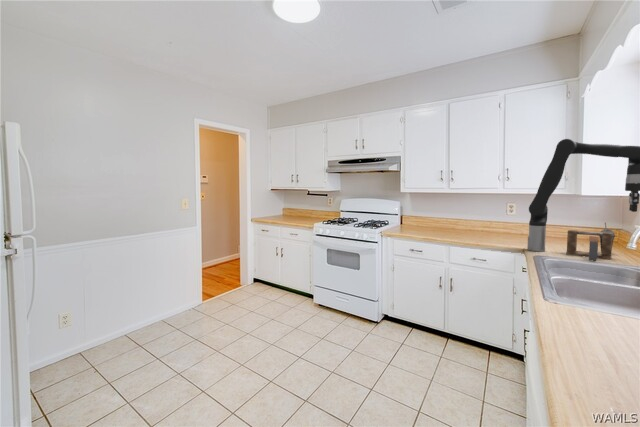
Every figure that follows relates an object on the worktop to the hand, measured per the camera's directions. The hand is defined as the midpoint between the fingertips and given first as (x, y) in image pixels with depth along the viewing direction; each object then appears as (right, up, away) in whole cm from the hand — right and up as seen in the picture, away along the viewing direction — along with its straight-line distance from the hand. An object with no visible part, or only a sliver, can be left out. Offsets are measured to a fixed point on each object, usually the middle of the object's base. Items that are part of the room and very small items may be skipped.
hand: (633, 211), depth 164 cm
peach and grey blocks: (-16, -29, +7) cm, 33 cm away
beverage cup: (+7, -27, +23) cm, 36 cm away
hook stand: (-10, -28, +17) cm, 34 cm away
